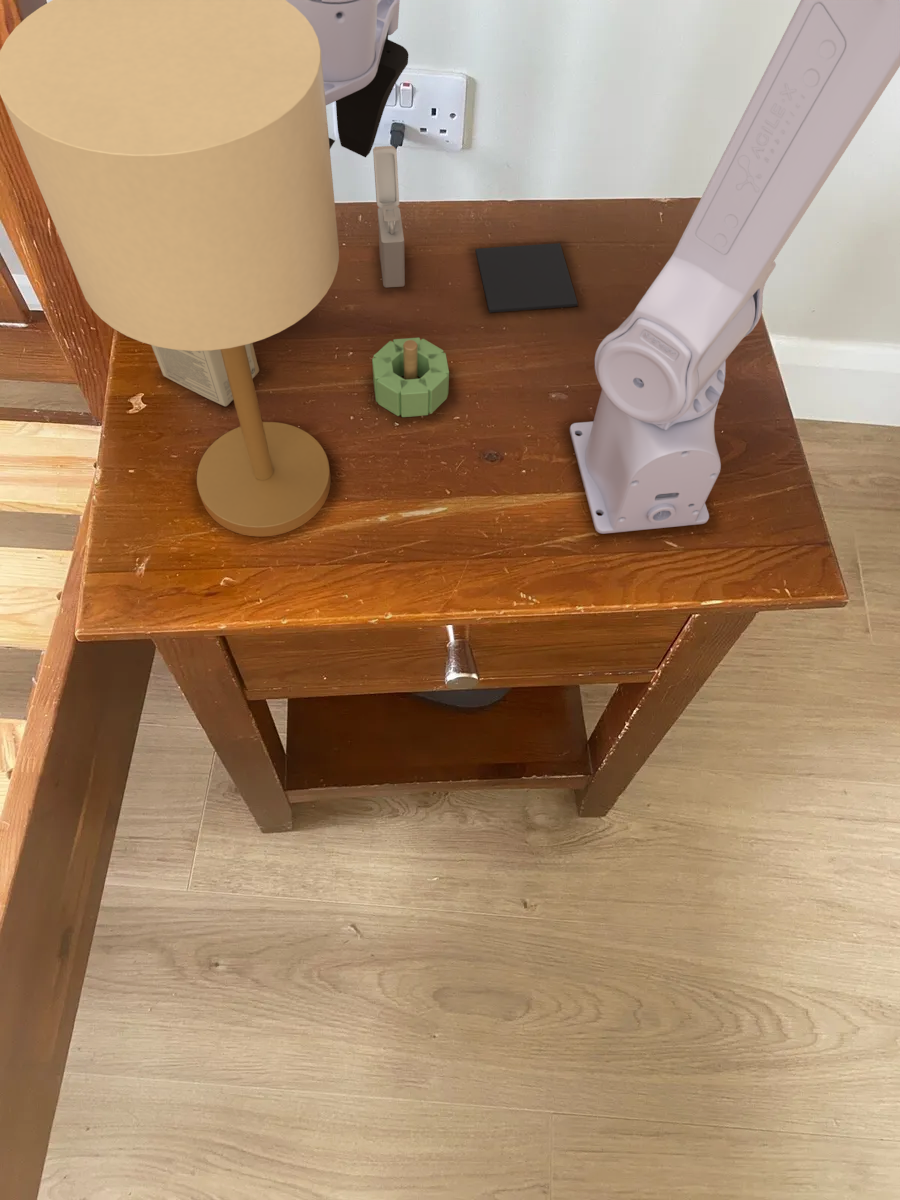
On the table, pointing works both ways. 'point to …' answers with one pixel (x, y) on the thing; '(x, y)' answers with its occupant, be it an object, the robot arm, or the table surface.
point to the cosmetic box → (201, 371)
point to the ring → (410, 393)
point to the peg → (410, 359)
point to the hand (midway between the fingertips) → (327, 180)
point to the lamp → (191, 200)
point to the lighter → (389, 216)
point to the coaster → (525, 277)
